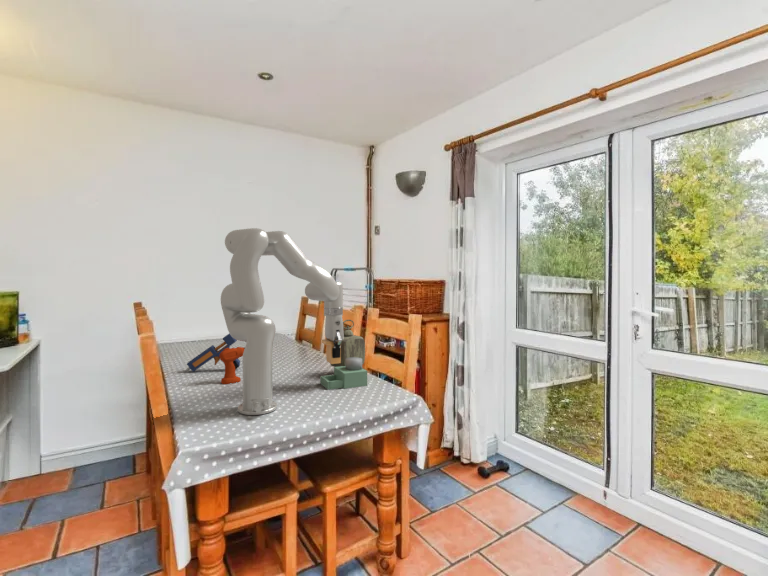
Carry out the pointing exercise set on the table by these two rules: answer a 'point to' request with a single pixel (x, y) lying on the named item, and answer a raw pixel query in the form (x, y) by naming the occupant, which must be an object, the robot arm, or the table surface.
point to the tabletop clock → (351, 346)
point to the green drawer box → (346, 375)
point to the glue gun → (211, 354)
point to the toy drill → (231, 364)
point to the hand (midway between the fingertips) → (333, 355)
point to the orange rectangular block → (330, 352)
